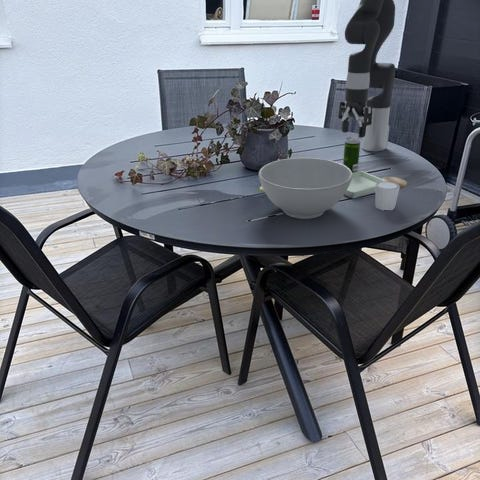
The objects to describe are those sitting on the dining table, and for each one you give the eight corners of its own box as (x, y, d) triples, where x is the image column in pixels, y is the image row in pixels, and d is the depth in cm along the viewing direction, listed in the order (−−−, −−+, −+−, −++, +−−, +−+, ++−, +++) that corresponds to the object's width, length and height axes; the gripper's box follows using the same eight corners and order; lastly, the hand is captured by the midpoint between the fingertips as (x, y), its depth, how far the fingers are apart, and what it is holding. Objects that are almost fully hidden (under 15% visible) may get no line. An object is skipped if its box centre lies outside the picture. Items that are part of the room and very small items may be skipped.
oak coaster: (392, 176, 161) (392, 175, 160) (412, 184, 154) (412, 183, 153) (373, 181, 157) (373, 180, 157) (392, 190, 150) (392, 188, 150)
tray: (361, 176, 162) (361, 170, 161) (390, 188, 151) (391, 182, 150) (324, 185, 156) (325, 179, 155) (352, 198, 145) (353, 192, 144)
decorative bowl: (248, 199, 147) (247, 163, 141) (325, 188, 153) (327, 153, 147) (277, 236, 124) (277, 194, 118) (366, 222, 130) (370, 181, 124)
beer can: (360, 171, 167) (363, 138, 161) (351, 174, 164) (354, 141, 158) (348, 167, 170) (351, 135, 165) (339, 171, 167) (341, 138, 162)
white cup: (384, 213, 135) (387, 191, 131) (368, 205, 140) (370, 183, 137) (401, 208, 137) (405, 186, 134) (385, 200, 143) (388, 179, 139)
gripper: (381, 88, 149) (375, 137, 157) (351, 82, 160) (347, 129, 168) (363, 90, 146) (358, 140, 153) (334, 84, 157) (331, 132, 165)
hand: (353, 134), depth 161 cm, fingers open, 8 cm apart
